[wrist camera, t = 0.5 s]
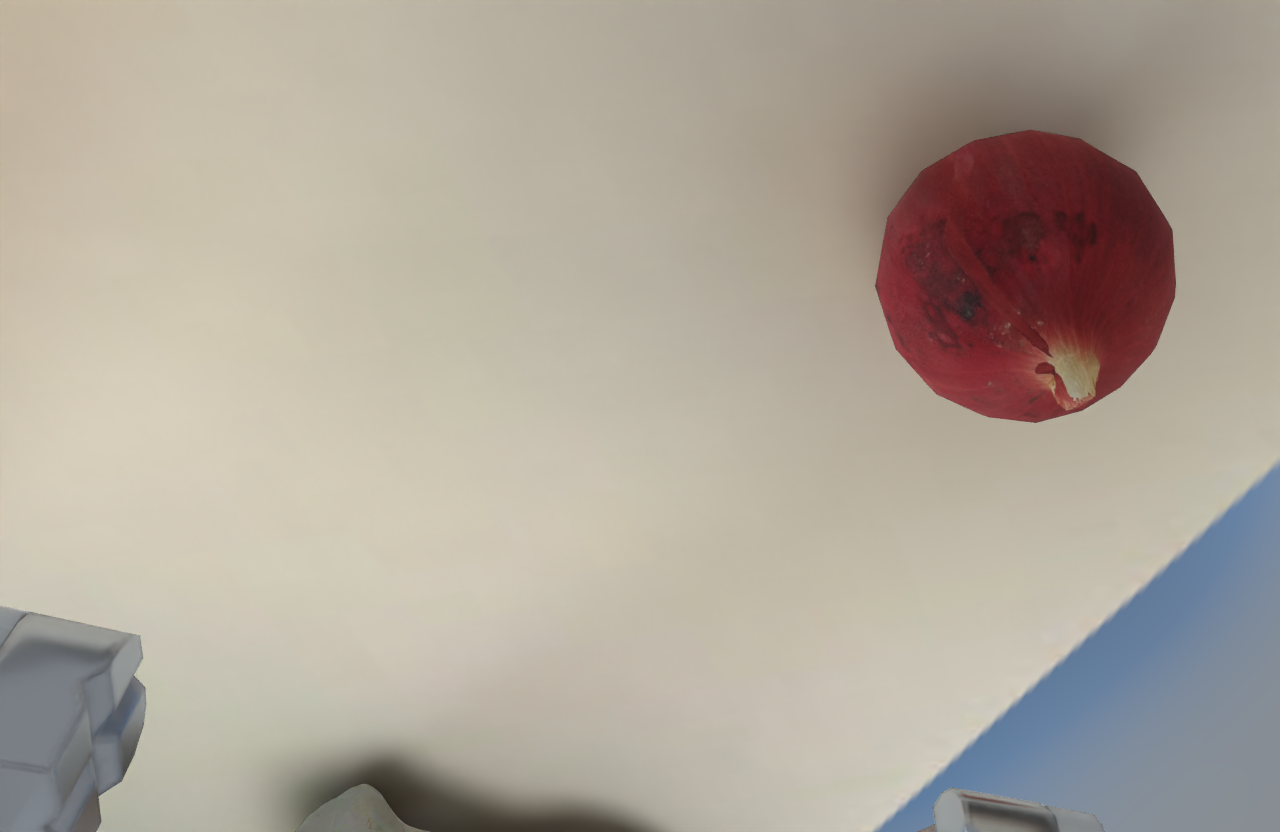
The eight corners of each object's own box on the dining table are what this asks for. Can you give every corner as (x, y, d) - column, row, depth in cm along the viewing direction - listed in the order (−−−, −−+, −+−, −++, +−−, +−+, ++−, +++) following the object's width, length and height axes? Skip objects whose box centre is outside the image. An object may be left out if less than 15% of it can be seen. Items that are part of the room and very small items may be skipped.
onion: (815, 252, 28) (840, 430, 21) (958, 38, 25) (1041, 165, 18) (1013, 357, 29) (1097, 557, 22) (1171, 164, 26) (1322, 327, 19)
